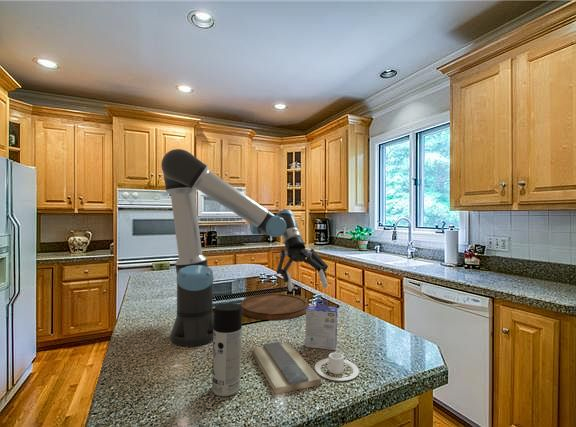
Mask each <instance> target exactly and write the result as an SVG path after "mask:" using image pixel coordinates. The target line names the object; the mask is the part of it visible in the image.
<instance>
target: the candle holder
mask: <svg viewBox="0 0 576 427" xmlns="http://www.w3.org/2000/svg"><path fill="white" fill-rule="evenodd" d="M327 363H328V364H327ZM324 364H327V366H328V372H330V373H331V374H333V375H341V374H343V373H344V371H345V370H344V369H345V365H347V366H348V367H349V368H351V370H352V373H351V374H350V375H349V376H346V377H345V376H344V377H337V376H335V377H334V376H332V375H331V376H330V375H327V374H326V373H324V372H323V371H322V369H321V368H322V366H323V365H324ZM314 371H315V372H316V374H317V375H318V376H320V377H323V378H325V379H328V380H331V381H336V382H341V381H342V382H345V381H350V380H354V379H355V378H357V377H358V376H359V374H360V369H359V367H358V366H357V365H356V364H355V363H353V362H351V361H349V360H347V359H345V357H344V354H342V353H340V352H330V353H329V354H328V357H326V358H323V359H320V360H318V361H317V362H316V363H315V365H314Z"/></svg>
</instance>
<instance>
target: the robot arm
mask: <svg viewBox="0 0 576 427" xmlns="http://www.w3.org/2000/svg"><path fill="white" fill-rule="evenodd" d="M160 165H161V170H162V172H163V179H164V186H165V192H166V193H168V194H169V195H170V199H171V206H172V207H171V208H172V215H173V222H174V230H175V237H176V238H175V239H176V245H177V247H176V248H177V254H178V259H177V260H176V261H175V263H174V265H175V272H176V284H177V285H176V318H175V320H174V322H173V326H172V329H171V332H170V341H171V343H172V344H174V345H176V346H180V347H197V346H203V345H205V344H206V345H207V344H209V343H211V342H213V331H214V328H213V327H214V312H213V298H214V296H213V292H214V291H213V290H214V288H213V286H214V283H213V282H214V273H213V269H212V268H211V267H209V264H208V258H207V257H206V256H205V255H203V249H202V242H201V233H200V227H199V217H198V211H197V210H198V209H197V203H196V202H197V201H196V195H195V192H196V191H197V190H198V191H199V192H201V193H203V194H204V195H206V196H207V197H208V198H210V199H212V200H213V201H215V202H217V203H218V204H220V205H221V206H223V207H224V208H226V209H227V210H229V211H231V212H232V213H234V214H235V215H236V216H239V218H241V219H243V220H245V221H246V222H248V223H249V229H250V230H249V231H250V232H251V234H252V235H266V236H269V237H272V238H279V237H281V236H282V241H283V244H284V247H285V250H284V249H281V251H280V252H279V257H280V259H279V261H278V266H277V270H276V274H277V275H280V276H281V277H282V278H283V282H285V283H286V285H287V289H288V292H292V291H293V289H294V284H293V281H292V277H291V275H290V271H288V270H289V268H290V267H291V265H292V264H293V262H295V263H300V262H301V263H303V262H304V263H306V264H308V265H309V266H310V267H312V268H313V269H315V270H317V272H318V276H319V279H320V282H321V284H322V285H321V286H322V287H323V289H326V288H327V286H328V285H329V283H328V280H327V278H328V276H327V273H326V271H327V270H328V268H329V265H328V264H327V263H326V262H325V261H324V260H323V259H322V258H321V257H320V256H319V255H318V254H317V253H316V251H315V249H313V248H310V250H307V249H306V245H305V242H304V240H303V237H302V234H301V231H300V229H299V226H298V224H297V220H296V217H295V215H294V213H293V211H292V210H291V209H286V208H284V209H282V210H279V211H278V212H277V213H276V214H274V213H272V212H271V211H270V210H268V209H267V208H265V207H264V206H262V205H260V204H259V203H258V202H257V201H255V200H253V199H252V198H250V197H249V196H247V195H246V194H244V193H243V192H242V191H240V190H239V189H237V188H235V186H233V185H231V184H230V183H229V182H227V181H225V180H224V179H222V178H220V177H219V176H218V175H216V174H215V173H214V172H212V171H211V170H209V166H208V165H207V164H206V163H204V162H203V161H201V160H200V159H199V158H198V157H196V156H194V155H193V154H192V153H190V152H189V151H188V150H185V149H181V148H176V149H175V148H174V149H172V150H170V151H168V152H166V153H165V154H164V156H163V157H162V160H161V164H160ZM286 256H287V258H289V260H288V261H287V263H286V264H285V266H284V267H283V264H284V261H285V258H286Z"/></svg>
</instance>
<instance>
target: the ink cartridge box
mask: <svg viewBox="0 0 576 427" xmlns="http://www.w3.org/2000/svg"><path fill="white" fill-rule="evenodd" d="M322 302H323V303H324V304H322ZM328 303H329V300H328V299H319V298H317V299H316V304H315V305H309V306H308V307H307V309H306V314H305V342H304V343H305V345H304V346H305V348H311V349H312V348H313V349H320V350H321V349H322V350H331V351H336V349H337V345H338V343H337V342H338V307H337V306H329V304H328Z"/></svg>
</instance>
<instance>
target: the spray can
mask: <svg viewBox="0 0 576 427" xmlns="http://www.w3.org/2000/svg"><path fill="white" fill-rule="evenodd" d="M213 309H214V312H213V317H214V327H213V328H214V331H213V341H212V378H211V380H212V383H211V389H212V393H213V394H214V395H215V396H217V397H220V398H227V397H229V398H230V397H232V396H234V395H235V394H237V393H238V392H239V391H240V388H241V366H242V365H241V364H242V361H241V360H242V329H243V328H242V326H243V325H242V324H243V322H242V321H243V319H242V318H243V314H242V307H241V305H240V303H238V304H237V303H221V304H217V305H215V307H214V308H213Z"/></svg>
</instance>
